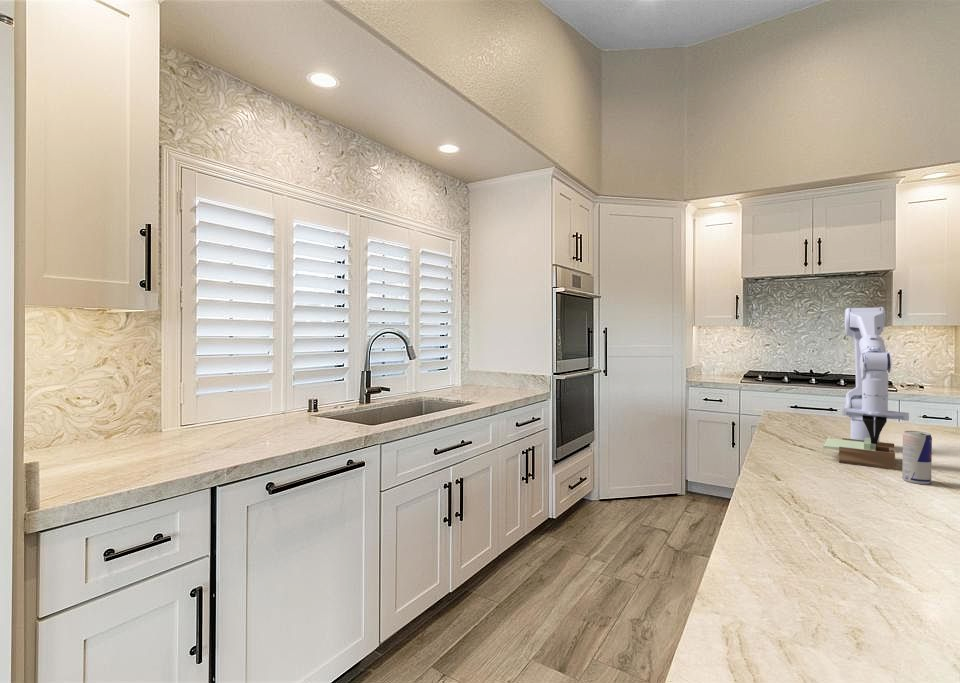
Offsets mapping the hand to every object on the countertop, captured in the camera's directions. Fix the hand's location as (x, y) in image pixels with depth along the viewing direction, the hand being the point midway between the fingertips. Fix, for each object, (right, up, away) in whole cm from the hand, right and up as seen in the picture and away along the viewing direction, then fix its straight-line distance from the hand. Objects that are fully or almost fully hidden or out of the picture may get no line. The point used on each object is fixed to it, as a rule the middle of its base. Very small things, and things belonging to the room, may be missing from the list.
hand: (874, 443), depth 139 cm
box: (-1, -5, +1) cm, 5 cm away
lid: (-4, -2, +3) cm, 6 cm away
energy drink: (-4, -6, -18) cm, 19 cm away
